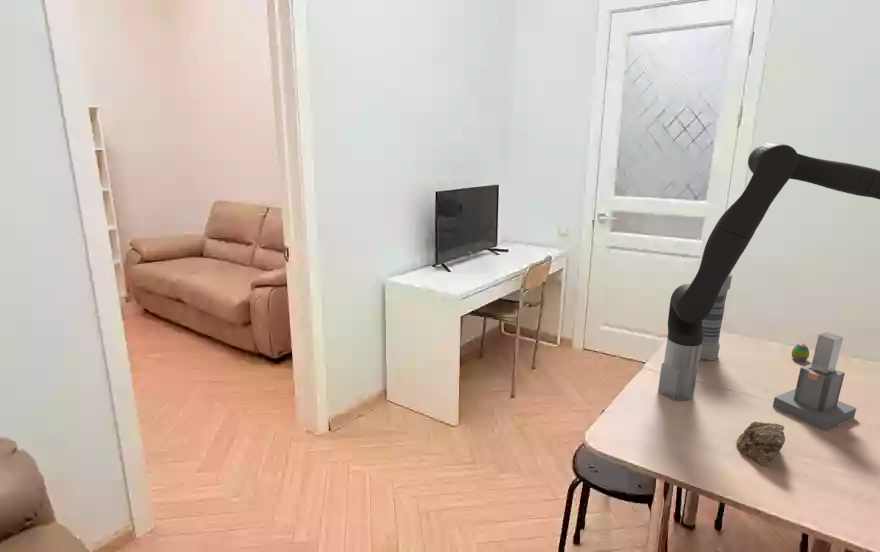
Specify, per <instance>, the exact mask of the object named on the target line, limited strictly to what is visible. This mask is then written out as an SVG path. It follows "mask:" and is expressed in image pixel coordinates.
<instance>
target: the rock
mask: <svg viewBox="0 0 880 552" xmlns="http://www.w3.org/2000/svg"><path fill="white" fill-rule="evenodd" d="M784 429H785V426H784V425H781V424H778V423H770V422H768V423H767V422H762V421H753V422H751V423H750V425H748V426H747V427H746V428H745V429H744V431H743V433H741V434H740V435H739V436H738V438H737V440H736V448H737V450H738V451H739V453H740V454H742V455H743V456H745V457H747V458H748V459H750V460H752V461H754V462H755V463H757V464H759V465H761V466H762V467H764V468H765V467H767V466H768V465H769V464H770V463H771V462H772V461H773V460H774V459H775V458H776V456H778V454H779V453H780V452H781V450H782V448H783V446H784V444H785V441H786V435H785V432H784Z"/></svg>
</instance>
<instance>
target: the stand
mask: <svg viewBox="0 0 880 552" xmlns="http://www.w3.org/2000/svg"><path fill="white" fill-rule="evenodd" d="M811 365H812V363H810V364H807V365H804V366H801V367H800V370H799V374H798V377H797V382H796V387H795V388H794V389H792V390H789V391H786V392H784V393H781V394H779V395H776V396H775V397H774V399H773V402H772V403H773V404H772V407H773V408H775V409H778V410H780V411H782V412H783V413H785V414H788V415H790V416H791V417H795V418H796V419H799V421H802V422H805V423H806V424H809V425H811V426H814V427H815V428H817V429H820V430H822V431H824V432H827V431H829V430H831V428H832V429H833V427H834V428H835V426H836V427H837V425H838V426H840V425H842V424H844V423H846V422H848V421H850V420H852V418H853V419H855V415H856V411H857V408H856V406H855V407H854V406H852V405H849V404H847V403H845V402H843V401H840V400H839V398H840V394H841V390H842V387H843V382H844V379H845V374H846V373H845V372H843V371H841V370H839V369H836V368H835V372H834V374H831V375H829V376H826V375H823V374H821V373H818V372H816V371H813V370H811ZM845 421H846V422H845ZM843 422H844V423H843ZM841 423H842V424H841ZM839 424H840V425H839Z"/></svg>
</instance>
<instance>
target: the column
mask: <svg viewBox="0 0 880 552" xmlns="http://www.w3.org/2000/svg"><path fill="white" fill-rule="evenodd" d="M843 340H844V336H841V335H838V334H834V333H832V332H828V331H826V332H822V333H819V334H818V335H817V341H816V344H815V345H816V346H815V348H814V353H813V357H812V362H811V364H812V365H811V370H813V371H816V372H818V373H821V374H823V375H826V376H829V375H831V374H834V372H835V369H836V368H837V363H838V360H839V356H840V351H841V348H842V343H843Z"/></svg>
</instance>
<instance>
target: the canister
mask: <svg viewBox="0 0 880 552" xmlns="http://www.w3.org/2000/svg"><path fill="white" fill-rule="evenodd" d="M731 273H732V272H731ZM731 273H730V274H729V276H728V277H727V279H726V280H725V282H724V284H723V286H722V288H721V290H720V292H719V294H718V296H717V299H716V301H715V303H714V305H713V308H712V310H711V312H710V313H709V315H708V316H707V317H706V318H705V319H704V320H702V330H703V341H702V347H701V353H700V359H699V360H703V361H715V360H717V359H718V357H719V352H720V348H721V347H720V346H721V343H720V335H721V328H722V324H723V319H724V315H725V314H724V313H725V307H726V300H727V295H728V291H729V290H730V289H731V283H732V278H733V275H732V274H731Z"/></svg>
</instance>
